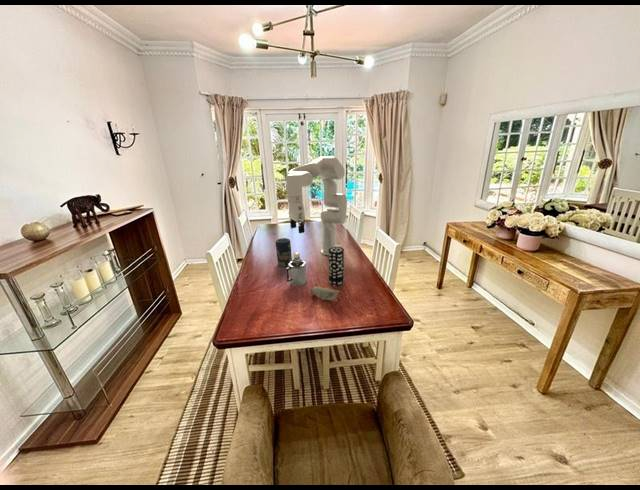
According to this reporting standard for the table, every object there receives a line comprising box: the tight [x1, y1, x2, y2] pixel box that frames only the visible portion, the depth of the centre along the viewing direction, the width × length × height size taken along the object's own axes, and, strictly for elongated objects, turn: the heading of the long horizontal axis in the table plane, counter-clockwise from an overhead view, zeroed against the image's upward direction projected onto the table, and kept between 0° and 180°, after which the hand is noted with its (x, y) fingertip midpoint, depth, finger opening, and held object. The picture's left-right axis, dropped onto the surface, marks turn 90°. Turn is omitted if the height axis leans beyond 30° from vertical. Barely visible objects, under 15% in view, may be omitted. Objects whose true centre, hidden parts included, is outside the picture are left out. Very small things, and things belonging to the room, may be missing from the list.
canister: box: [275, 237, 293, 267], centre depth 162 cm, size 10×10×18 cm
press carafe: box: [285, 259, 307, 287], centre depth 140 cm, size 11×9×12 cm
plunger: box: [292, 251, 302, 267], centre depth 139 cm, size 6×6×16 cm
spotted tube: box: [328, 247, 345, 287], centre depth 138 cm, size 8×8×20 cm
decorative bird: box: [311, 286, 341, 307], centre depth 125 cm, size 5×16×8 cm, turn 58°
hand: (297, 230), depth 135 cm, fingers open, 9 cm apart
